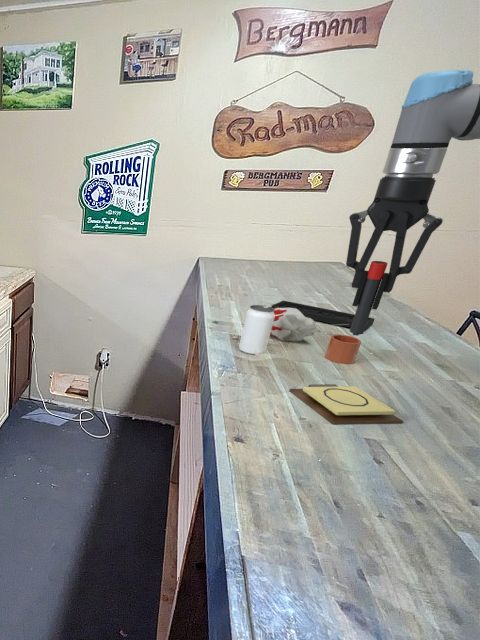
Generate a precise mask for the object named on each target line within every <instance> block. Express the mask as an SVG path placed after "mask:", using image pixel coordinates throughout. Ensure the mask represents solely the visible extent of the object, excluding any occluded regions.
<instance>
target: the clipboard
mask: <svg viewBox="0 0 480 640" xmlns="http://www.w3.org/2000/svg"><path fill="white" fill-rule="evenodd" d="M307 387H340V386H339V385H337V384H335V383H328V384H326V383H324V384H323V383H322V384H320V383H319V384H316V383H315V384H312V383H311V384H308V386H307ZM289 392H290V393H291V394H292V395H293V396H296V397H297V398H298V399H299V400H300V401H302V402H303V403H304V404H305V405H307V406H308V407H310V408H311V409H312V410H313V411H315V412H316V413H317V414H318V415H320V416H321V417H323V418H324V419H325V420H327V422H329V423H331V425H383V424H384V425H385V424H386V425H389V424H391V425H392V424H393V425H394V424H403V423H404V420H403V419H401V418H399V417H398V416H397V415H395V414H393V415H336V414H334V413H333V412H332V411H330V410H329V409H328V408H326V407H325V406H323V405H322V404H321V403H319V402H318V401H317V400H315V399H314V398H313V397H311V396H310V395H308V394H307V393H306V392H304V391H303V388H289Z"/></svg>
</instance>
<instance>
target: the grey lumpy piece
mask: <svg viewBox="0 0 480 640" xmlns="http://www.w3.org/2000/svg"><path fill="white" fill-rule="evenodd" d="M274 314H275V317H274V321H273V325H272V329H271V333H270V337H271V338H277V339H279V340H280V341H281V342H283V341H286V342H287V341H288V342H293V343H298V342H301V341H303V340H304V338H305V337H307V338H308V337H312V336H314V335H315V333H316V329H317V326H316V321H315V320H313V319H311V318H307V317H305V316H304V315H303V314H302V313H301V312H300V311H299V310H298V309H296V308H278V307H277V308H274Z"/></svg>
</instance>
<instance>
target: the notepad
mask: <svg viewBox="0 0 480 640" xmlns="http://www.w3.org/2000/svg"><path fill="white" fill-rule="evenodd" d="M302 389H303V391H304V392H306V393H307V394H308V395H310V396H311V397H313V398H314V399H315V400H317V401H318V402H319V403H321V404H322V405H323V406H325V407H326V408H328V409H329V410H330V411H332V412H333V413H334V414H336V415H395V413H396V410H394V409H393V408H391V407H390V406H388V405H386V404H385V403H383V402H381V401H380V400H379V399H377V398H375V397H373V396H372V395H370V394H368V393H367V392H365V391H364V390H362V389H361V388H359V387H357V386H354V385H353V386H339V387H308V386H303V387H302Z"/></svg>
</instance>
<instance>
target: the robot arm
mask: <svg viewBox="0 0 480 640" xmlns="http://www.w3.org/2000/svg"><path fill="white" fill-rule="evenodd" d="M473 78H474V72H473V71H472V70H471V69H447V70H445V69H444V70H438V71H431V72H425V73H422V74H420V75H418V76H416V77H415V79H413V80H412V82H411V84H410V86H409V89H408V92H407V94H406V96H405V100H404V102H403V104H402V106H401V111H400V115H399V118H398V120H397V124H396V128H395V131H394V135H393V138H392V142H391V145H390V148H389V150H388V153H387V157H386V160H385V162H384V166H383V169H382V173H383V174H384V176H382V177H381V178H380V179H379V182H378V185H377V189H376V192H375V195H374V198H373V201H372V203H371V204H370V205H368V207H367V209H366V210H362V211H359V212H353V213H352V214H350V215H349V222H350V225H351V231H350V236H349V243H348V249H347V256H346V262H345V265H346V267H348V268H351V269H353V270H354V272H355V273H354V276H353V278H352V282H351V288H355V289H356V292H355V296H354V299H353V302H352V307H358V304H359V301H360V298H361V294H362V291H363V288H364V285H365V282H366V279H367V274H368V271H369V270H366V269H367V266H368V264H369V262H370V260H371V258H372V256H373V254H374V252H375V249H376V248H377V246H378V243H379V241H380V239H381V237H382V235H383V234H384V232H389V231H391V232H395V238H394V244H393V250H392V256H391V260H390V264H389V265H390V266H389V272H385V273H384V275H383V277H382V279H381V282H380V285H379V288H378V291H377V294H376V297H375V300H374V303H373V306H372V309H371V310H375V311H377V310H378V308H379V306H380V303H381V301H382V297H383V295H384V293H391V291H393V289H394V285H395V283H396V280H397V278H398V276H400V275H409V274H411V273H412V271H413V269H414V268H415V266H416V264H417V262H418V260H419V258H420V257H421V254H422V253H423V251H424V248H425V247H426V246H427V243H428V242H429V239H430V238H431V235H432V234H433V233H434V232H435V231H436V230H437V229H438V228H440V226H441V225H442V224H443V222H444V220H443V218H442V217H437V216H435V215H433V214H432V213H429V212H430V209H429V205H428V204H429V201H430V198H431V196H432V193H433V190H434V187H435V184H436V182H437V179H435V177H433V176H434V175H437V174H439V173H440V170H441V168H442V165H443V162H444V159H445V157H446V154H447V151H448V147H449V145H450V142H451V140H452V139H455V140H458V141H462V142H463V141H474V140H480V84H479V83H474V80H473ZM367 217H369V219H370V221H371V223H372V225H373V227H374V230H373V232H372V234H371V237H370V238H369V241H368V243H367V245H366V247H365V248H364V251H363V253H362V255H361V257H360V260H359V261H358V260H357V258H358V257H357V256H358V252H359V245H360V240H361V234H362V233H361V232H362V224H363V223H365V222H366V219H367ZM421 220H423V221H424V222H423V223H422V227H423V231H422V233H421V234H420V236H419V238H418V240H417V242H416V244H415V246H414V248H413V250H412V252H411V253H410V255H409V258H408V260H407V261H406V263H405V265H403V266H401V261H402V256H403V252H404V246H405V241H406V236H407V232H408V230H409V229H411V228H412V227H413V226H415V225H416V224H417V223H419V222H420V221H421Z"/></svg>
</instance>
